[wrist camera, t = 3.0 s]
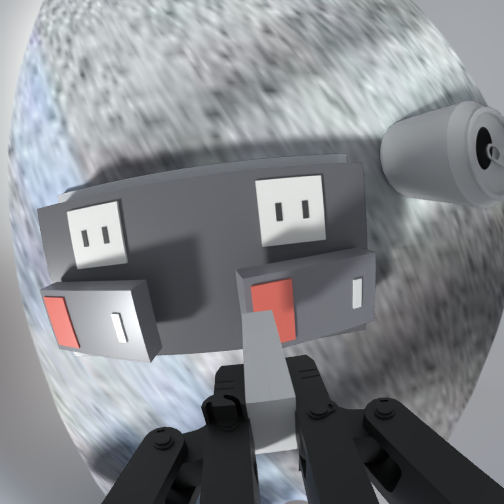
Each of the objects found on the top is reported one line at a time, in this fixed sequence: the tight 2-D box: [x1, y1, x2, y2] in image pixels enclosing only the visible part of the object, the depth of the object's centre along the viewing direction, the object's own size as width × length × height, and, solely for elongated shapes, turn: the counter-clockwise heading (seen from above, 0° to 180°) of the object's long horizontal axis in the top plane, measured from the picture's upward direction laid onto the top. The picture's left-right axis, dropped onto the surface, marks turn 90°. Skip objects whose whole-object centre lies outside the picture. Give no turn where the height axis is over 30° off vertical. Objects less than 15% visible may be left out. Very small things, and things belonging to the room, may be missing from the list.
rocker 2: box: [235, 247, 376, 348], centre depth 19 cm, size 5×9×2 cm, turn 96°
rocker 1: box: [40, 280, 163, 363], centre depth 18 cm, size 5×9×2 cm, turn 96°
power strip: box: [37, 154, 367, 356], centre depth 22 cm, size 15×26×5 cm, turn 96°
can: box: [380, 101, 504, 209], centre depth 18 cm, size 8×8×12 cm
